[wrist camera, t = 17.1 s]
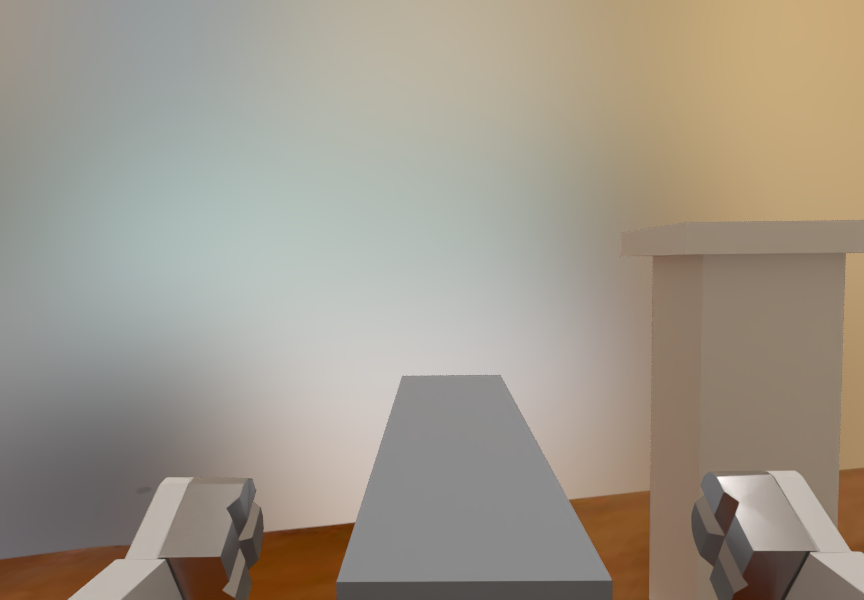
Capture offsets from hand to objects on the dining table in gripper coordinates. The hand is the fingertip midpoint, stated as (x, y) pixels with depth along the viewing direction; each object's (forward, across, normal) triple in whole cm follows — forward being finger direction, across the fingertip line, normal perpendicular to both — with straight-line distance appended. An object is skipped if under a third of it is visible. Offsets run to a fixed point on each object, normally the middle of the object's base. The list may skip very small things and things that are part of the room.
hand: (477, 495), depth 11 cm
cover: (+7, 0, +8) cm, 10 cm away
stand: (+10, -16, +29) cm, 34 cm away
